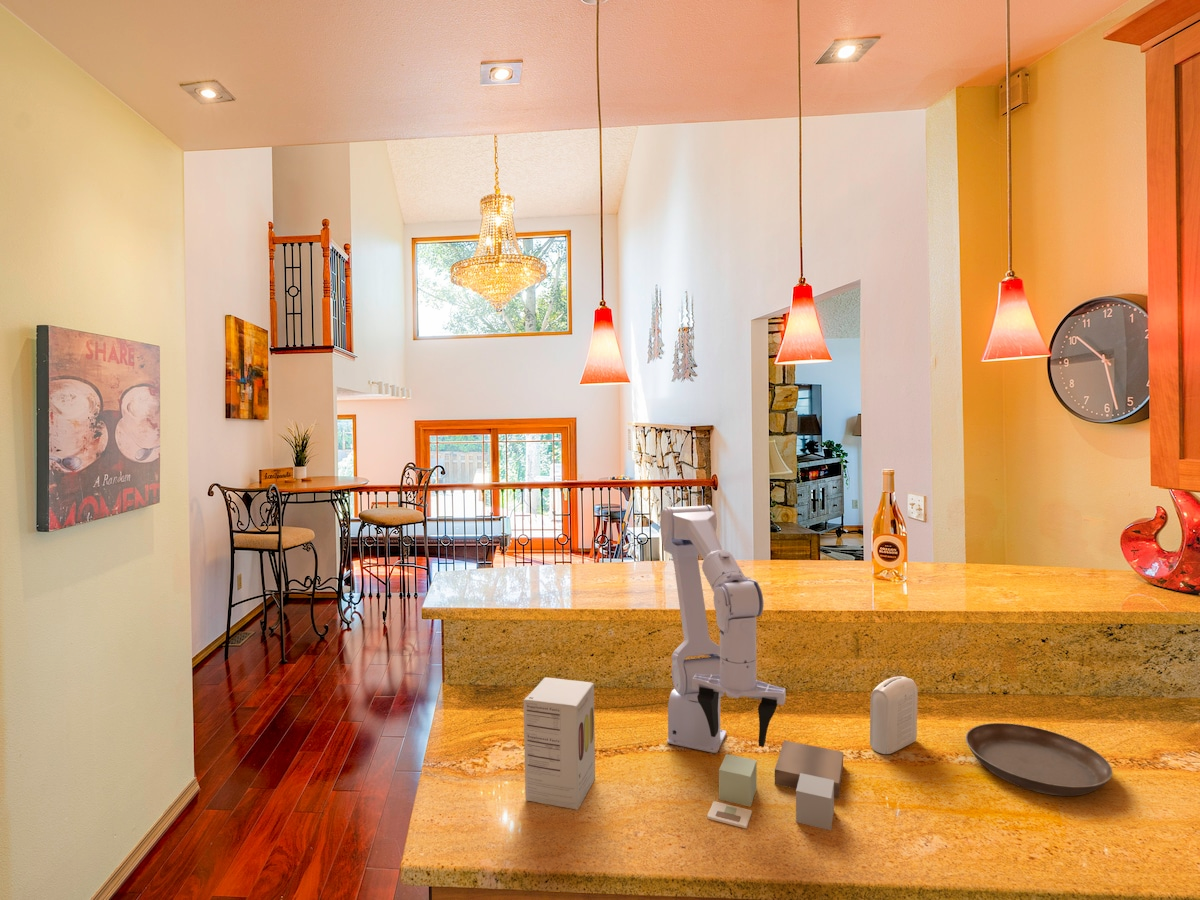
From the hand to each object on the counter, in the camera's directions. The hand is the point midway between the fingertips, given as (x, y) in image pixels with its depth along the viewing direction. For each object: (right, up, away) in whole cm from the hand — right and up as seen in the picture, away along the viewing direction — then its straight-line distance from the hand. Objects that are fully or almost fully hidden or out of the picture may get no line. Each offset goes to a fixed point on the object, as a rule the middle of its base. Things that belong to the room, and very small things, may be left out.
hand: (738, 738), depth 103 cm
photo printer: (+32, -8, +15) cm, 36 cm away
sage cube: (0, -9, +1) cm, 9 cm away
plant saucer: (+52, -9, +7) cm, 53 cm away
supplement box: (-29, -10, +3) cm, 30 cm away
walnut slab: (+13, -9, +6) cm, 17 cm away
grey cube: (+11, -10, -5) cm, 15 cm away
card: (-2, -10, -5) cm, 11 cm away
